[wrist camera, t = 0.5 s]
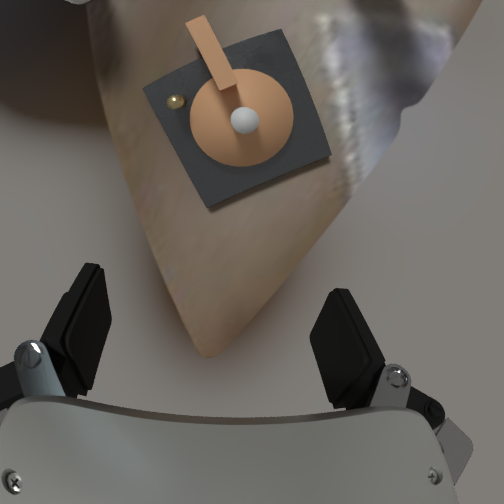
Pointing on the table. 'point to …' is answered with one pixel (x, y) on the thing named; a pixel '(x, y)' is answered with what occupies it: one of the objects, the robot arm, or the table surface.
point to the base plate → (225, 176)
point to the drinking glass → (78, 1)
